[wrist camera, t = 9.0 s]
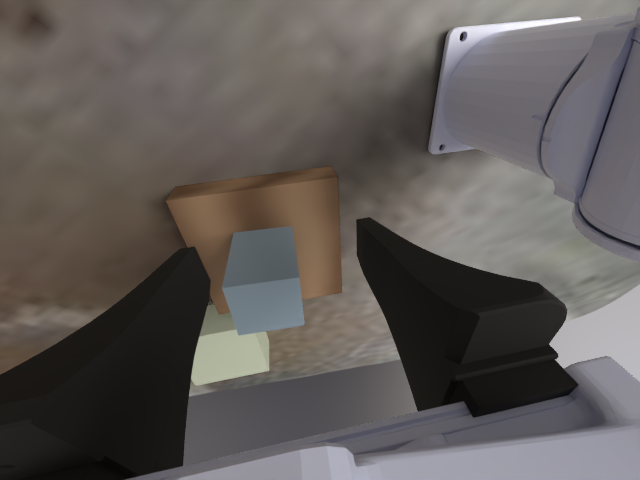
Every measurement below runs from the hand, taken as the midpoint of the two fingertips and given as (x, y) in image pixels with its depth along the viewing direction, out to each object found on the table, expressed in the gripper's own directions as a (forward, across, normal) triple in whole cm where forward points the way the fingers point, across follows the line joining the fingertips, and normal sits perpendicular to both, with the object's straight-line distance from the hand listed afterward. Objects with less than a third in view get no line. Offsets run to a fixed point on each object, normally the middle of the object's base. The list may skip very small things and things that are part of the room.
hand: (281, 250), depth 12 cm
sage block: (+11, +9, +17) cm, 22 cm away
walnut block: (+11, +2, +6) cm, 13 cm away
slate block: (+8, +2, +6) cm, 10 cm away
